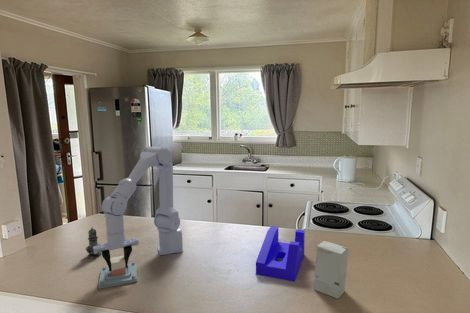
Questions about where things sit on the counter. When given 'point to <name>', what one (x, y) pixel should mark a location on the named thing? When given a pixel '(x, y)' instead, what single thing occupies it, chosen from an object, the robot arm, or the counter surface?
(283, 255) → the bracket
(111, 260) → the cream and red block
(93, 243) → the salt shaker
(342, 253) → the skincare box
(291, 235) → the counter surface
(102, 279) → the base plate
